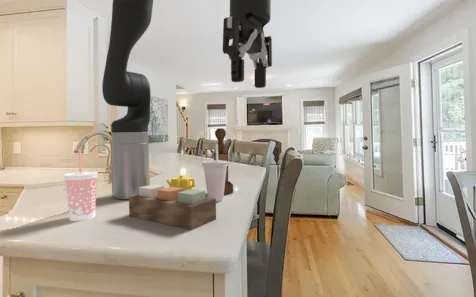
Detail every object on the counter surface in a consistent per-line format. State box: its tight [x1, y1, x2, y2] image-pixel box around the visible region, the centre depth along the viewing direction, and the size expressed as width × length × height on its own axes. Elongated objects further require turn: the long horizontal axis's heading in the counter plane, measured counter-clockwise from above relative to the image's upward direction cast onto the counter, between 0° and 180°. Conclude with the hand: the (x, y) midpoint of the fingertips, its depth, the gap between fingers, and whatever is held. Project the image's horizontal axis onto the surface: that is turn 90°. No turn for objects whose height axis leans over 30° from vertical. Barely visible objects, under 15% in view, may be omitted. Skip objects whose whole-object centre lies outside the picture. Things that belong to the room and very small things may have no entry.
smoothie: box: [201, 143, 229, 203], centre depth 71 cm, size 6×6×14 cm
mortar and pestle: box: [213, 127, 234, 196], centre depth 79 cm, size 7×6×18 cm
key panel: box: [128, 194, 217, 230], centre depth 57 cm, size 17×7×4 cm, turn 58°
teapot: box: [166, 175, 196, 191], centre depth 79 cm, size 8×6×5 cm
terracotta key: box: [157, 186, 184, 201], centre depth 57 cm, size 4×4×3 cm
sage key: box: [178, 188, 206, 204], centre depth 54 cm, size 4×4×3 cm
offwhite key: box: [139, 184, 165, 198], centre depth 60 cm, size 4×4×3 cm
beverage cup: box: [62, 148, 99, 222], centre depth 58 cm, size 6×6×14 cm
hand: (249, 84), depth 53 cm, fingers open, 8 cm apart
